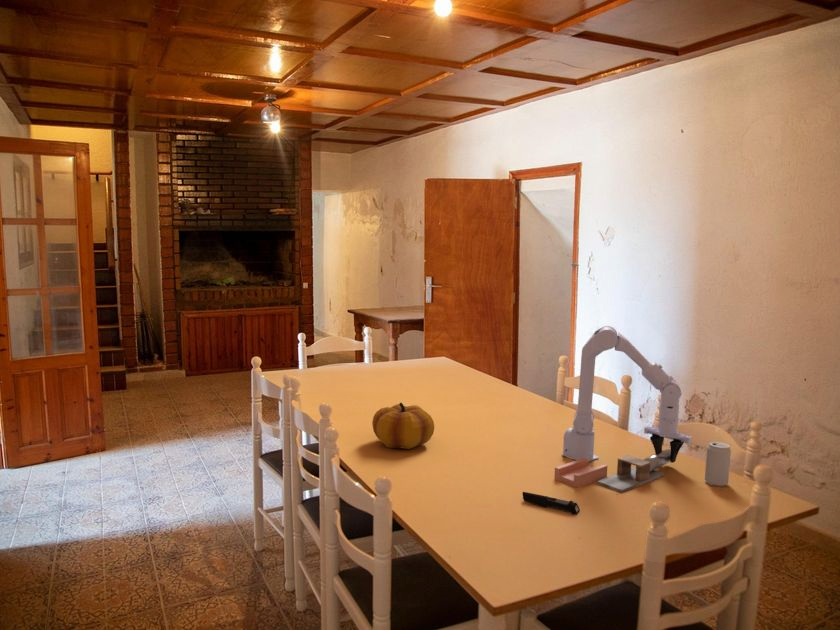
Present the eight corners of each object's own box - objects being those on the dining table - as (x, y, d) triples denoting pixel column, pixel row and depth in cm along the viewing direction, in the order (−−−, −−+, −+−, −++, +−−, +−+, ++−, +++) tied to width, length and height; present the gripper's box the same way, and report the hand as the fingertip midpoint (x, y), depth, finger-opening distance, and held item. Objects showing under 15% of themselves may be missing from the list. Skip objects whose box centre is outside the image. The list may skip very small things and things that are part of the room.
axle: (649, 475, 194) (650, 462, 194) (637, 471, 197) (638, 459, 196) (674, 462, 205) (675, 450, 204) (662, 459, 208) (662, 447, 207)
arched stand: (596, 483, 190) (597, 464, 189) (639, 467, 204) (640, 450, 203) (621, 492, 183) (622, 473, 183) (663, 475, 197) (665, 457, 196)
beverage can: (708, 477, 196) (710, 439, 195) (730, 483, 192) (733, 444, 190) (701, 483, 191) (704, 444, 190) (724, 489, 187) (727, 449, 186)
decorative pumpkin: (428, 456, 212) (429, 411, 210) (363, 451, 216) (364, 407, 214) (439, 437, 231) (439, 396, 229) (379, 433, 235) (379, 393, 234)
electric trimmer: (525, 499, 179) (525, 488, 179) (580, 511, 171) (580, 500, 171) (520, 504, 176) (520, 493, 175) (576, 516, 168) (576, 505, 168)
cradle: (554, 478, 193) (554, 467, 193) (583, 468, 202) (584, 457, 202) (577, 487, 187) (578, 476, 186) (606, 476, 195) (607, 465, 195)
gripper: (640, 415, 206) (638, 456, 207) (685, 425, 195) (682, 469, 197) (651, 411, 211) (648, 452, 212) (695, 421, 200) (692, 463, 202)
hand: (665, 460), depth 205 cm, fingers closed on axle, 4 cm apart
